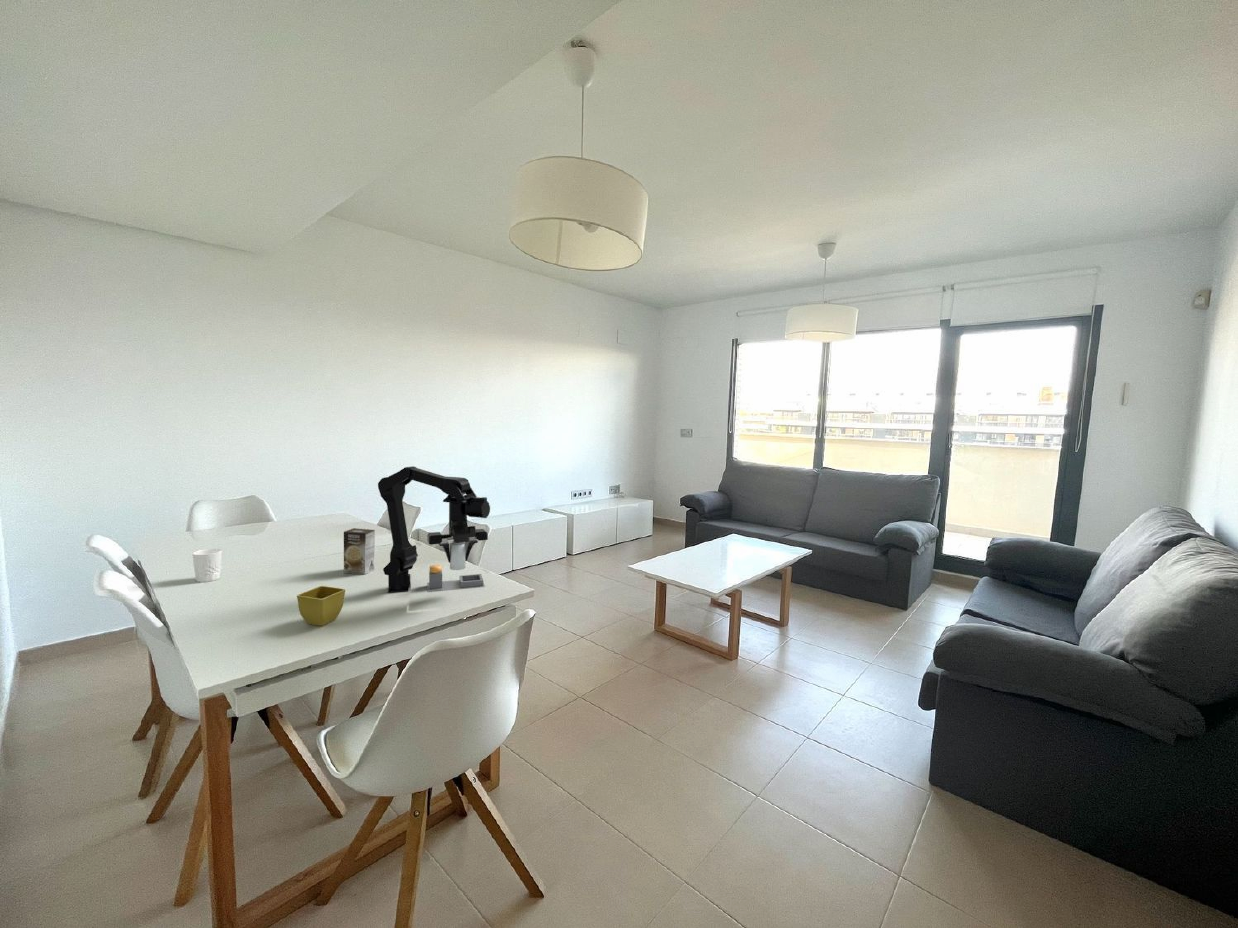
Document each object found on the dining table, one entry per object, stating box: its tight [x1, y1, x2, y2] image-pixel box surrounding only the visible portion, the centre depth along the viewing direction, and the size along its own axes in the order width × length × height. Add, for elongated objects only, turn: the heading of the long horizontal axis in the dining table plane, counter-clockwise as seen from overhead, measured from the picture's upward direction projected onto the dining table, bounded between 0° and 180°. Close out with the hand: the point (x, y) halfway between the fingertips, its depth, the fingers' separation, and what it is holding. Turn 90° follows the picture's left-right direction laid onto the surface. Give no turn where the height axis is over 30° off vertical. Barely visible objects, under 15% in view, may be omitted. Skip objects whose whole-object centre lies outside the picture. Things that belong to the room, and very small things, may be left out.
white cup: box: [192, 548, 223, 583], centre depth 170 cm, size 8×8×10 cm
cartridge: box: [449, 540, 467, 571], centre depth 161 cm, size 5×5×9 cm
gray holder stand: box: [426, 570, 486, 593], centre depth 171 cm, size 19×10×6 cm, turn 112°
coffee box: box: [343, 527, 376, 575], centre depth 184 cm, size 9×6×16 cm
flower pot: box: [296, 585, 346, 627], centre depth 138 cm, size 9×9×9 cm
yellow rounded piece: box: [429, 564, 443, 573], centre depth 168 cm, size 4×4×6 cm
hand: (457, 561), depth 161 cm, fingers closed on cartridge, 5 cm apart
